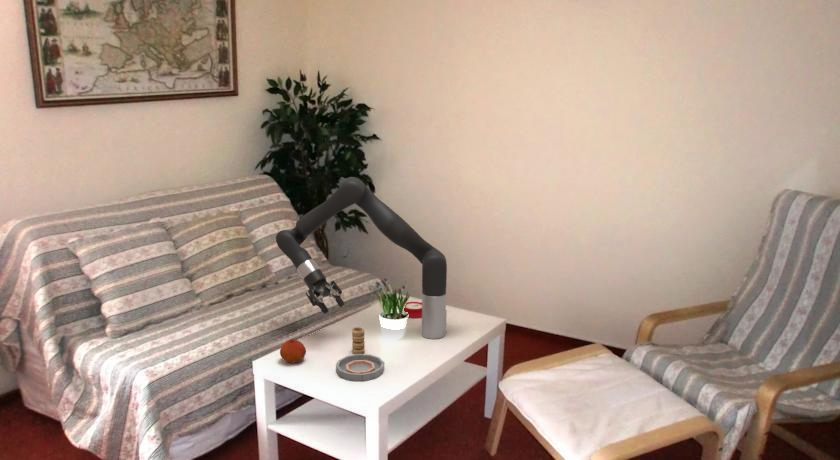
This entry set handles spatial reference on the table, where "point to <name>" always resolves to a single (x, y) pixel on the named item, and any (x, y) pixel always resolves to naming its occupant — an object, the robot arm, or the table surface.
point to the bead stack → (358, 340)
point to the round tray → (360, 367)
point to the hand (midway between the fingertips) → (334, 309)
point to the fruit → (292, 351)
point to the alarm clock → (414, 309)
